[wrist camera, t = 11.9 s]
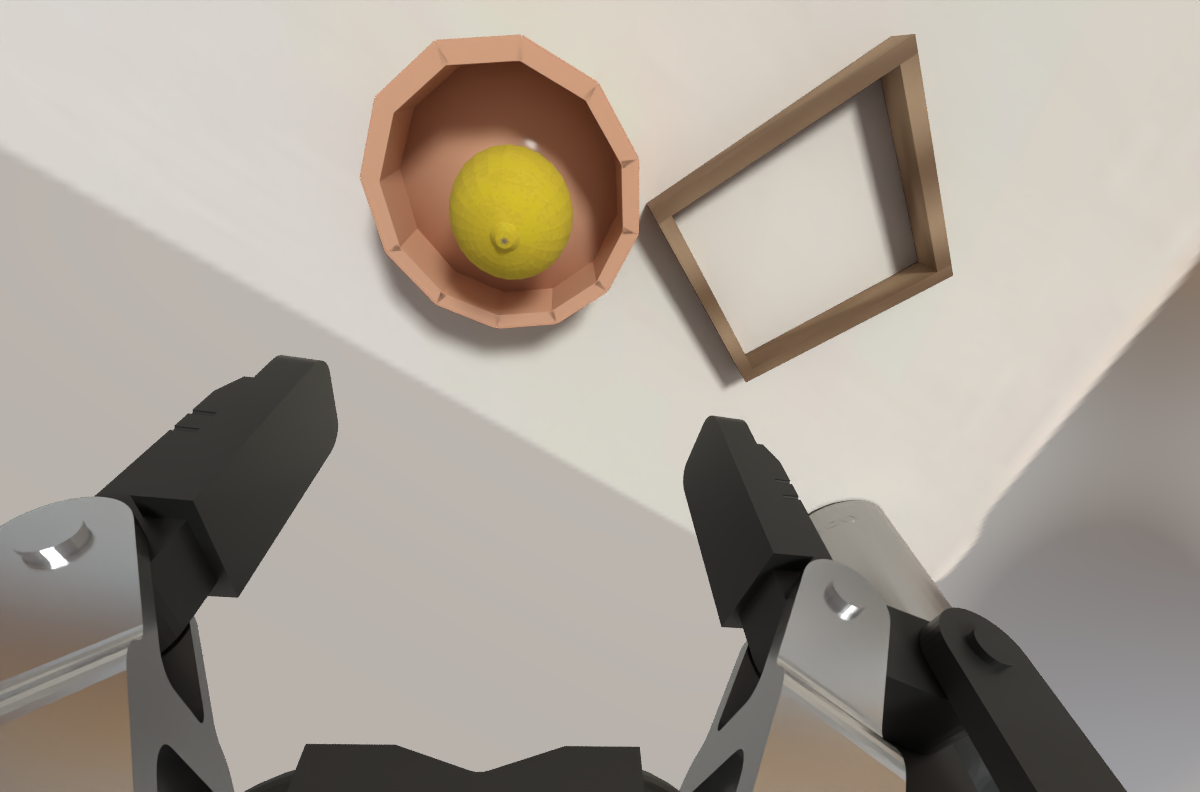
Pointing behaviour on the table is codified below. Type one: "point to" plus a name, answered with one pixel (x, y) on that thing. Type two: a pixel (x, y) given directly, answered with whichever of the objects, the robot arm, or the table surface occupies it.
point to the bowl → (491, 118)
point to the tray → (919, 182)
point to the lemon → (510, 211)
